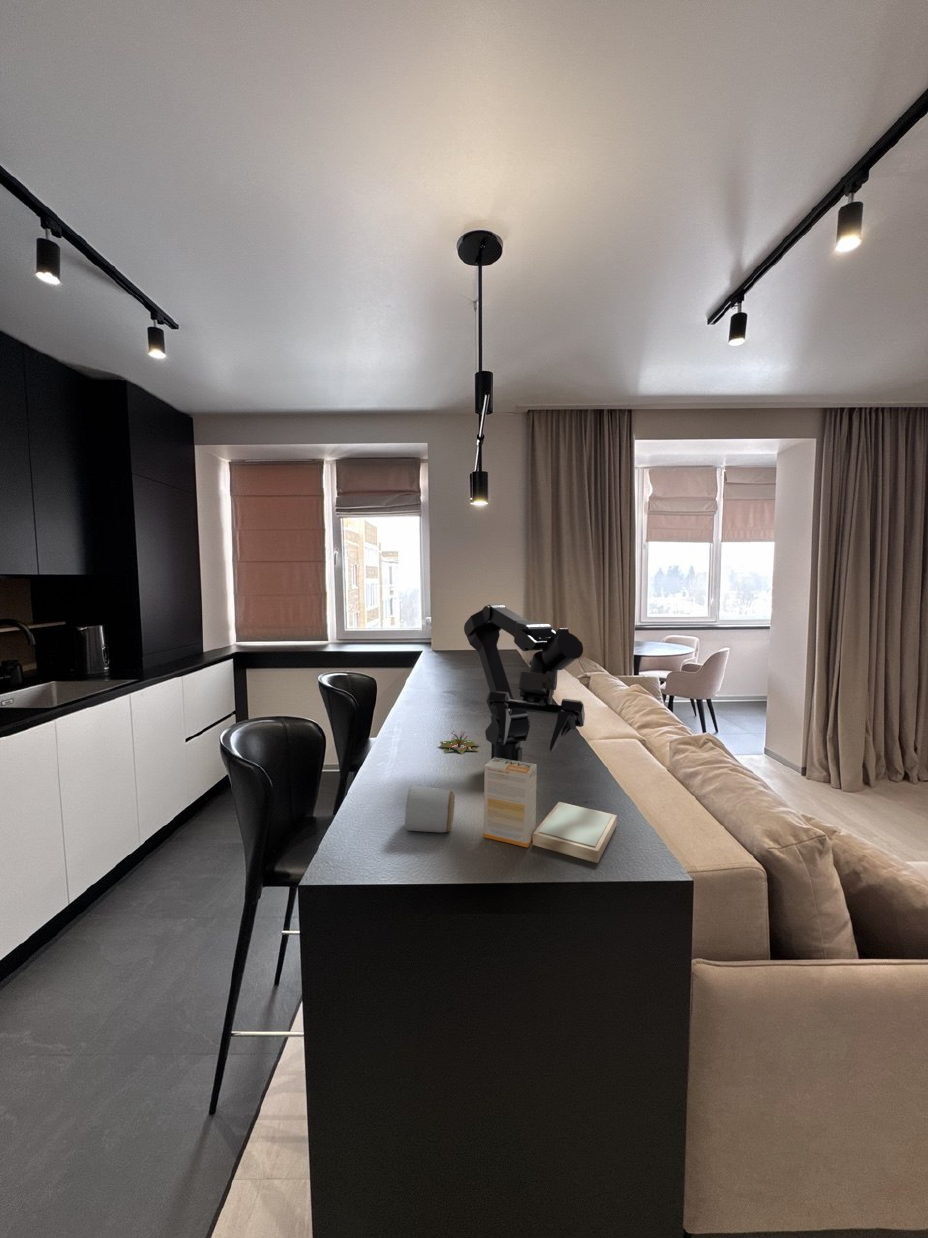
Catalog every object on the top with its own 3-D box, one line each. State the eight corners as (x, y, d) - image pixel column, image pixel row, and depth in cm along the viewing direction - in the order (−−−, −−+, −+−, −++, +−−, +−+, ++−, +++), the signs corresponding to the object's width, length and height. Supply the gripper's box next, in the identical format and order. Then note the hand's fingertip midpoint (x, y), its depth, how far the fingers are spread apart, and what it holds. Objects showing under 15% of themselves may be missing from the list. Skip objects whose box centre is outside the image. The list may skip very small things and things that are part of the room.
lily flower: (485, 755, 130) (485, 738, 130) (438, 757, 128) (438, 740, 128) (477, 740, 142) (477, 724, 141) (434, 742, 140) (434, 725, 140)
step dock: (532, 844, 87) (533, 832, 87) (558, 811, 99) (558, 800, 99) (597, 863, 82) (598, 850, 81) (616, 825, 94) (617, 814, 94)
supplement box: (536, 836, 90) (538, 763, 89) (527, 849, 85) (530, 773, 84) (492, 825, 93) (494, 755, 92) (482, 837, 89) (483, 764, 88)
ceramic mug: (451, 841, 88) (452, 797, 87) (403, 838, 88) (404, 795, 88) (456, 813, 98) (456, 774, 98) (413, 811, 99) (414, 772, 98)
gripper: (490, 650, 102) (469, 719, 93) (585, 659, 95) (573, 734, 86) (501, 681, 110) (482, 747, 101) (589, 691, 104) (578, 762, 94)
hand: (526, 747), depth 96 cm, fingers open, 9 cm apart
